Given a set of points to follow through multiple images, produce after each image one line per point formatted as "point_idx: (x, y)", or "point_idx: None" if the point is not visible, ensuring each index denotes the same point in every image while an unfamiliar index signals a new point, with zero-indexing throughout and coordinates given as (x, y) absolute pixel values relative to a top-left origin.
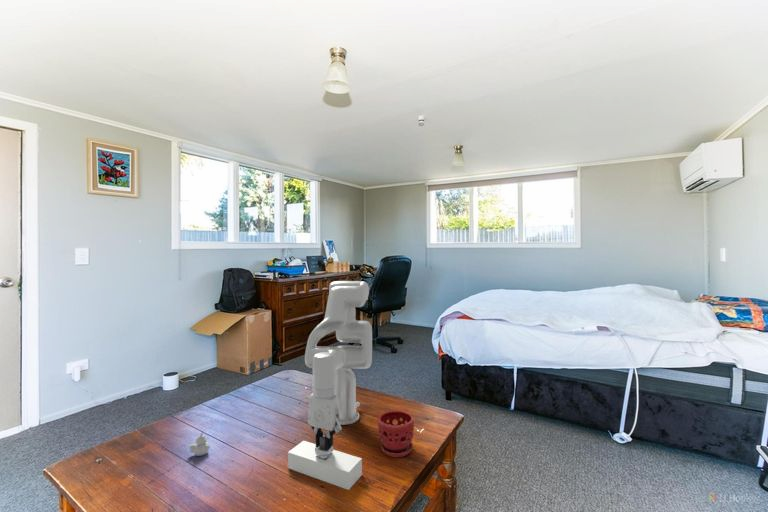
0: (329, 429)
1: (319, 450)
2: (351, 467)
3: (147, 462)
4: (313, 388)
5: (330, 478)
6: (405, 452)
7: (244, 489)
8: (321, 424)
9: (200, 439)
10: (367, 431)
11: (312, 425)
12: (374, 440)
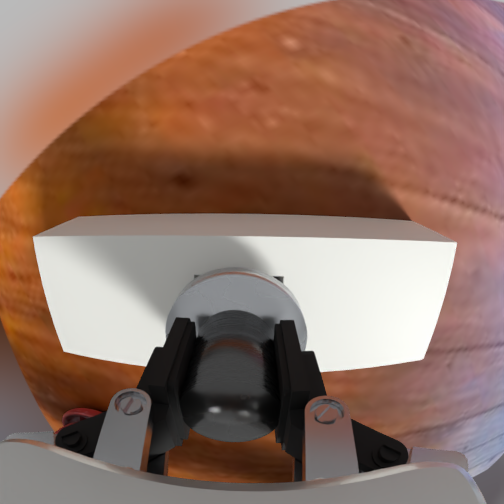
0: (9, 444)
1: (245, 302)
2: (45, 276)
3: None
4: None
5: (153, 218)
6: (62, 418)
7: (457, 58)
8: None
9: None
10: (241, 473)
11: (376, 484)
12: (192, 455)
